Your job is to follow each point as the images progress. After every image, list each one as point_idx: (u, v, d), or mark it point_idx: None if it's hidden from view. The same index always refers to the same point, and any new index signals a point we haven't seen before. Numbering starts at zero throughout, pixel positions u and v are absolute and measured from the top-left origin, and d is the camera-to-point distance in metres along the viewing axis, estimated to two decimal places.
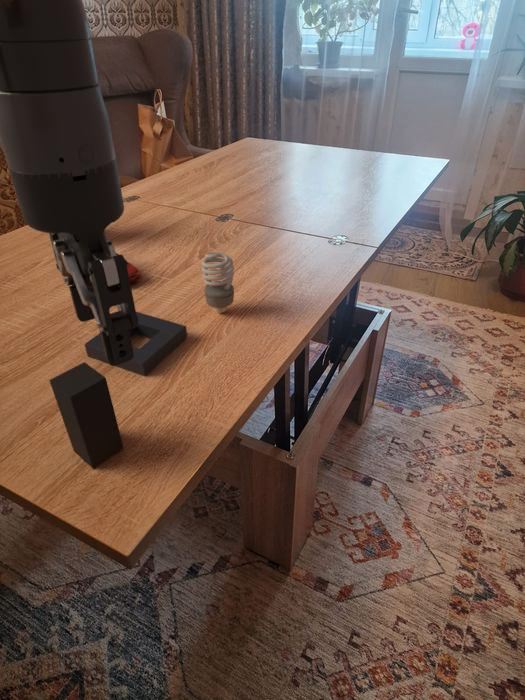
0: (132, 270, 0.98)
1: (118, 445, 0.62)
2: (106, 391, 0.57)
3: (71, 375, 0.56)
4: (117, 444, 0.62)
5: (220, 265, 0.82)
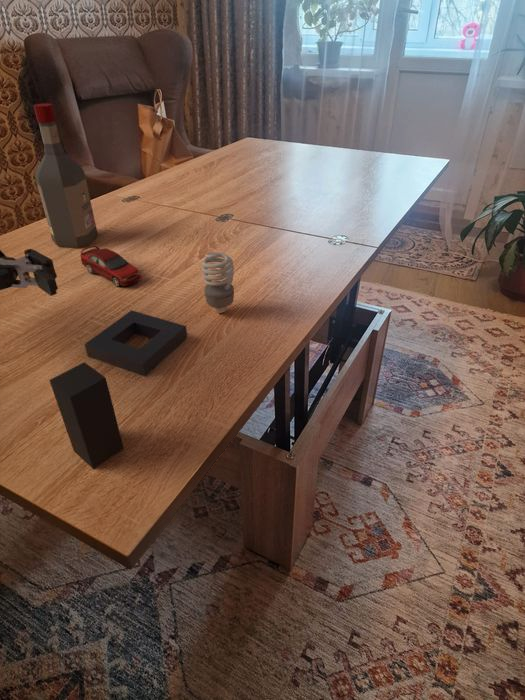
0: (132, 270, 0.98)
1: (118, 445, 0.62)
2: (106, 391, 0.57)
3: (71, 375, 0.56)
4: (117, 444, 0.62)
5: (220, 265, 0.82)
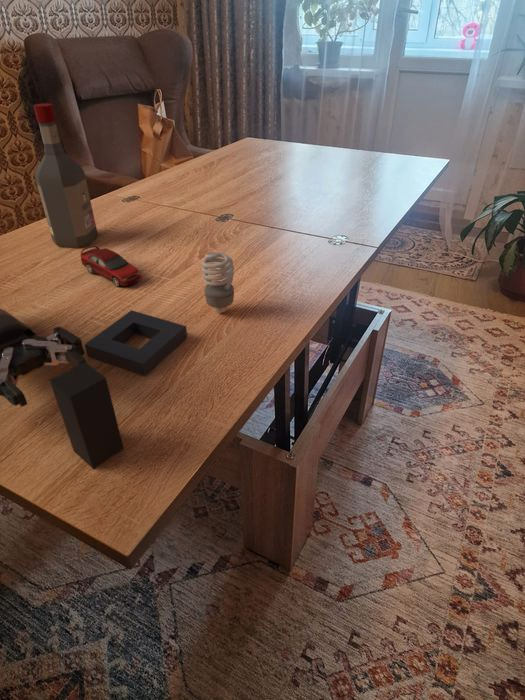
0: (132, 270, 0.98)
1: (118, 445, 0.62)
2: (106, 391, 0.57)
3: (71, 375, 0.56)
4: (117, 444, 0.62)
5: (220, 265, 0.82)
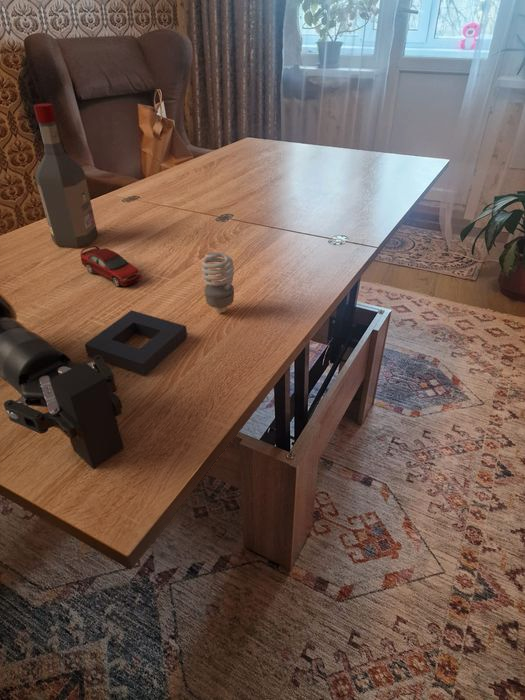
0: (132, 270, 0.98)
1: (118, 445, 0.62)
2: (106, 391, 0.57)
3: (71, 375, 0.56)
4: (117, 444, 0.62)
5: (220, 265, 0.82)
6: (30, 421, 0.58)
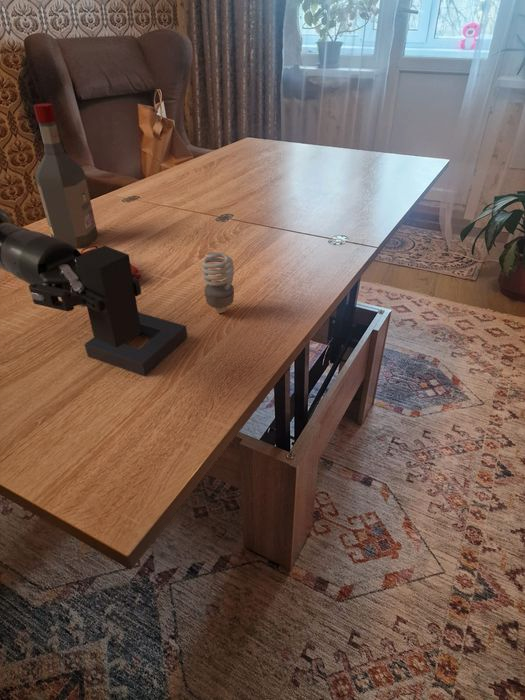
0: (132, 270, 0.98)
1: (136, 328, 0.67)
2: (129, 269, 0.62)
3: (95, 254, 0.61)
4: (136, 326, 0.67)
5: (220, 265, 0.82)
6: (55, 302, 0.62)
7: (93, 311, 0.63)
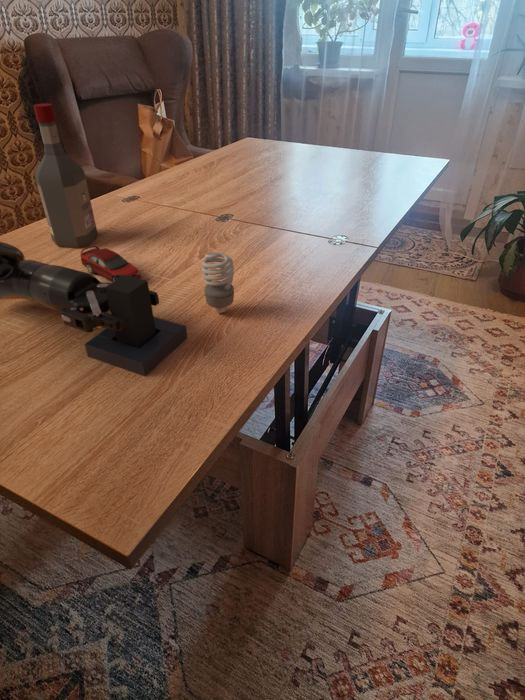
0: (132, 270, 0.98)
1: None
2: (147, 292, 0.76)
3: (120, 282, 0.75)
4: None
5: (220, 265, 0.82)
6: (79, 324, 0.74)
7: None
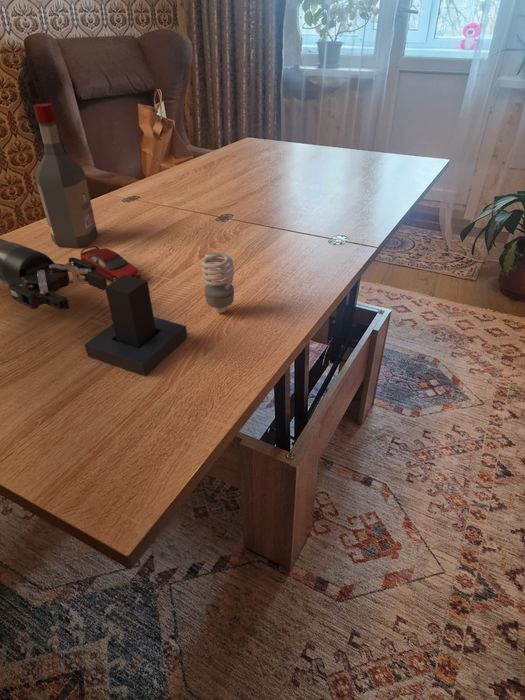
0: (132, 270, 0.98)
1: None
2: (147, 292, 0.76)
3: (120, 282, 0.75)
4: None
5: (220, 265, 0.82)
6: (26, 300, 0.79)
7: (120, 329, 0.77)
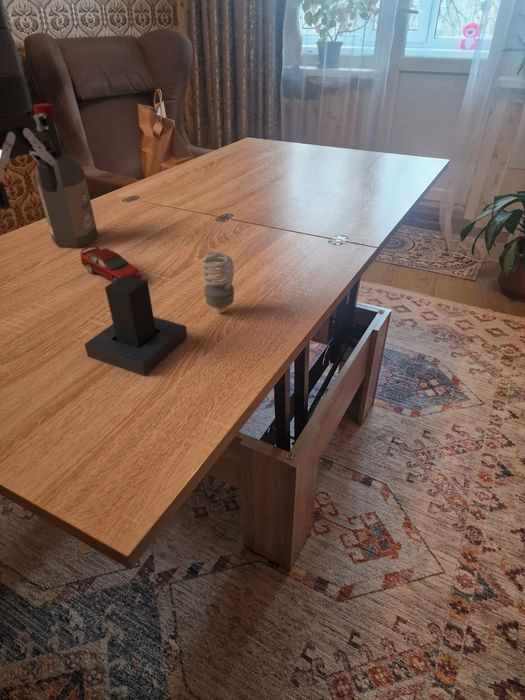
0: (132, 270, 0.98)
1: None
2: (148, 292, 0.76)
3: (120, 282, 0.75)
4: None
5: (220, 265, 0.82)
6: None
7: (120, 329, 0.77)
